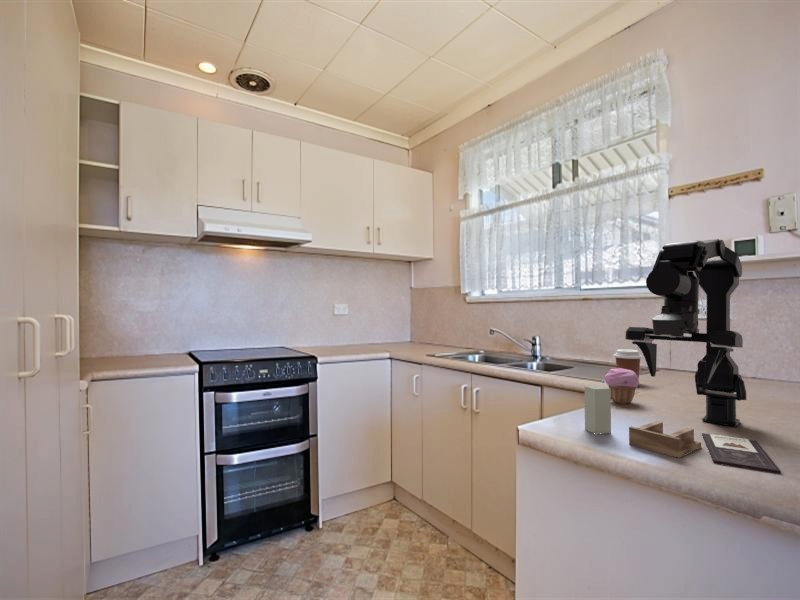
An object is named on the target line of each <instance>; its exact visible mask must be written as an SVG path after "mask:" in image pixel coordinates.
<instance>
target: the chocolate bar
mask: <svg viewBox="0 0 800 600" xmlns="http://www.w3.org/2000/svg"><path fill="white" fill-rule="evenodd" d="M701 436H703V437H702V438H703V442H704V444H705V443H706V444H705V446H706V448H708V449H707V451H708V450H709V451H708V453H709V455H711V456H710V458H711V461H712V463H713V464H715V463H717V464H716V465H721V464H723V466H727V465H729V467H734V466H735V468H740V469H746V470H752V471H753V470H754V471H758V472H764V471H765V473H771V474H777V475H778V474H779V475H782V471H781V469H780V468H779V467H778V466H777V465H776V463H775V462H774V461H773V459H772V458H771V457H770V455H768V453H767V452H766V451H765V449H764V448H763V447H762V446H761V445H760V443H759V442H758V441H757V440H756V439H751V438H750V439H749V438H742V437H736V436H734V437H733V436H727V435H720V434H713V433H712V434H711V433H706V432H702V433H701Z"/></svg>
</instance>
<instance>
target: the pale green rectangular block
mask: <svg viewBox="0 0 800 600" xmlns="http://www.w3.org/2000/svg"><path fill="white" fill-rule="evenodd" d="M611 402H612V399H611V389H610V388H609V387H608V386H607V387H606V386H604V385H585V386H584V430H585V429H586V430H585V431H587V430H588V431H587V432H589V431H590V432H589V433H591V432H593V433H595V434H596V435H603V434H602V433H609V434H611V433H612V403H611ZM593 433H592V434H593ZM600 433H601V434H600ZM595 434H594V435H595Z"/></svg>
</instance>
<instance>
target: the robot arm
mask: <svg viewBox="0 0 800 600" xmlns="http://www.w3.org/2000/svg"><path fill="white" fill-rule="evenodd" d="M661 247H662V248H661V249H659V252H658V254H657V256H656V260H655V262H654V264H653V266H652V270H651V271H650V272H649V274H648V275H647V277H646V280H645V283H646V289H648V290H649V292H650V293H652V294H653V295H656V296H659V297H661V298H663V299H664V302H663V305H662V306H661V309H660V311H661V312H660V314H657V315H655V316H654V317H653V318H651V321H652V328H651V327H650V328H649V327H643V326H642V327H640V326H639V327H638V326H629V327H628V328H626V331H625V340H629V341H631V342H632V343H631V344H632V345H636V346H637V348H639V349H640V351H641V353H642V356H644V357H643V358H644V360H645V363H646V366H647V368H648V372H649V374H650V376H651V377H653V378H654V377H656V373H657V358H658V357H657V353H658V352H657V350H658V346H657V343H653V341H654V340H656V341H657V340H660V341H674V342H693V343H706V344H705V345H706V346H705V351H706V352H705V355H704V356H703V357H702V358H701V360H699V361H698V363H697V365H696V366H697V369H696V371H695V374H694V383H695V389H696V395H698V396H705V415H704V416H703V418H701V421H702V422H706V423H711V424H717V425H723V426H729V427H737V426H738V425H739V423H740V422H741V420H740V419H739V418H737V409H736V408H737V402H738V401H739V402H741V401H747V398H748V397H747V388H746V384H745V381H744V380H743V377H742V374H739V373H740V369H739V366H738V364H737V363H736V362H735V360H734V359H733V357H732V356H731V352H734V348H743V343H744V342H743V339H744V338H743V336H742V334H741V333H740V332H738V331H734V330H731V295H732V294H733V293H734V291H736V289H737V288H738V286H739V285H740V278H741V277H742V275H743V265H742V262H741V259H740V256H739V254H738V253H737V252H735V251H734V250H732V249H730V248H729V247H727V246H726V244H725V242H724V240H723V239H719V238H717V239H706V240H690V241H682V242H674V243H673V242H672V243H665V244H664V245H662V246H661ZM715 257H719V259H713V258H715ZM699 287H700V288H701V289H702V290H703V292H704V294H706V333H703V332H700V329H699V315H700V310H701V309H700V308H699V294H700V293H699V290H700V289H699ZM685 334H688V335H690V336H686V335H685Z"/></svg>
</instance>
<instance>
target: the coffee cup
mask: <svg viewBox="0 0 800 600" xmlns="http://www.w3.org/2000/svg"><path fill="white" fill-rule="evenodd" d="M613 357H614V358H615V365H616V369H618V368H623V369H627V370H631V371H633V372H635V373H636V375H637V376H638V380H639V378H640V365H641V359H643V354H642V355H641V354H640V351H639V350H636V349H629V348H627V349H622V348H621V349H616V352H615V353H613Z"/></svg>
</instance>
